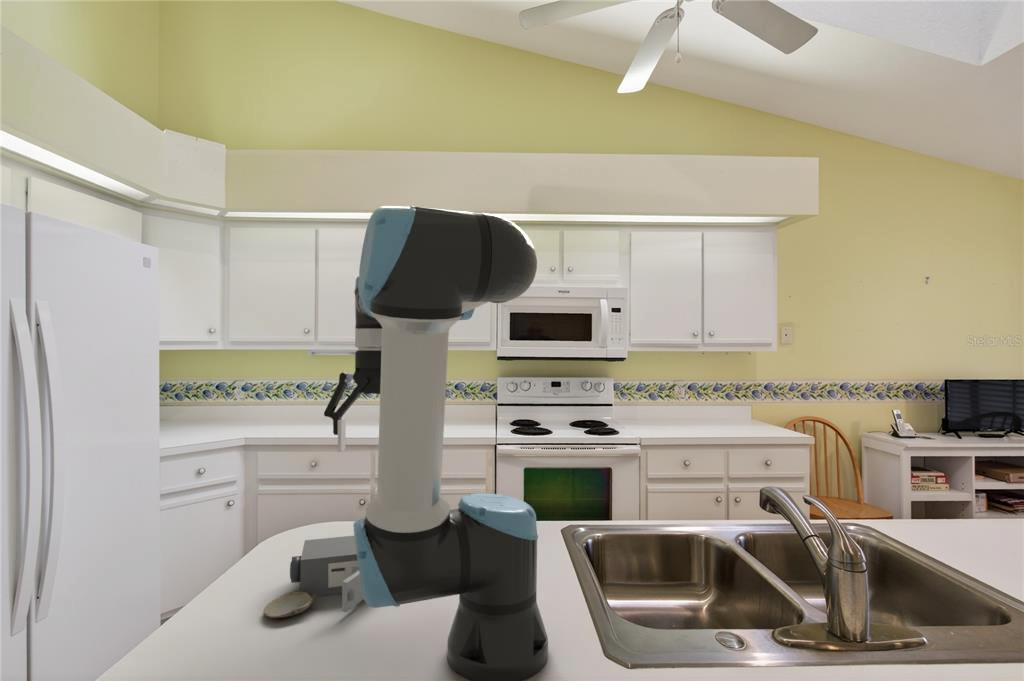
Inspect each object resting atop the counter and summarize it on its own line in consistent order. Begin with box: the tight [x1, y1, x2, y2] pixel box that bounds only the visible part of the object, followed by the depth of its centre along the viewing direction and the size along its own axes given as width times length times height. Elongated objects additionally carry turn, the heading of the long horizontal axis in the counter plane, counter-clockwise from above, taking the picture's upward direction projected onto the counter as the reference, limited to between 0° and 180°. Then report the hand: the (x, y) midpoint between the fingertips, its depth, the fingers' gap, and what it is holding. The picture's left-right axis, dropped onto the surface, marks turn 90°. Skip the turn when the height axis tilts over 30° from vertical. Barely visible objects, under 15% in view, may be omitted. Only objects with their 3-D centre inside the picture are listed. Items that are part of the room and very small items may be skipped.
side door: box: [341, 570, 364, 613], centre depth 98 cm, size 2×10×5 cm, turn 162°
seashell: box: [263, 590, 316, 619], centre depth 95 cm, size 8×3×8 cm
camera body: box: [289, 535, 359, 598], centre depth 106 cm, size 10×18×8 cm, turn 106°
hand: (373, 450), depth 115 cm, fingers open, 13 cm apart
